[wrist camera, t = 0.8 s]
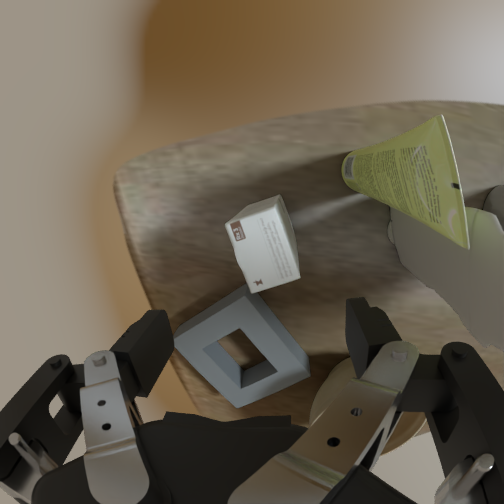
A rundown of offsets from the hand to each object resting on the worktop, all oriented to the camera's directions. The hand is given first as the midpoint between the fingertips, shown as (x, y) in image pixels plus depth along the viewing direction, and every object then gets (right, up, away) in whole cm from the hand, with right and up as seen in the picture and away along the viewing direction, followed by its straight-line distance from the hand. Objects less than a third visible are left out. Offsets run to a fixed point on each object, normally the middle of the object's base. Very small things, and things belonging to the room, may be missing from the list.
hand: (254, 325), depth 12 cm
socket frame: (-1, -9, +26) cm, 27 cm away
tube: (+12, +12, +18) cm, 25 cm away
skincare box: (+2, +6, +21) cm, 22 cm away
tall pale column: (+18, +6, +19) cm, 27 cm away
